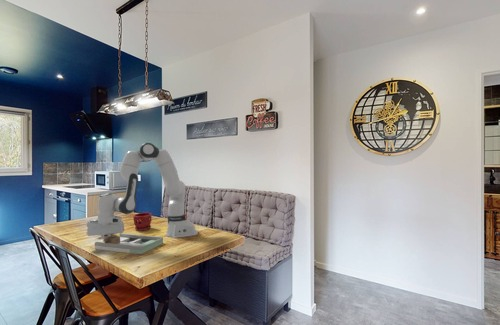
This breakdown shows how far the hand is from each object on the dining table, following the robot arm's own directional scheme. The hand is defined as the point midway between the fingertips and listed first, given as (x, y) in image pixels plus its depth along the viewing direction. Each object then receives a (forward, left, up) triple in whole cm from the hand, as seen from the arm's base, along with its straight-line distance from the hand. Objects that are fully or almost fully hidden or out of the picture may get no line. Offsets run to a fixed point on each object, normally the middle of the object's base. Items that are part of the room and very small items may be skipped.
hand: (106, 241), depth 155 cm
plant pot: (-14, -38, -3) cm, 41 cm away
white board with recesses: (-14, +3, -3) cm, 15 cm away
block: (-4, +3, -1) cm, 5 cm away
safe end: (-26, +10, -3) cm, 28 cm away
